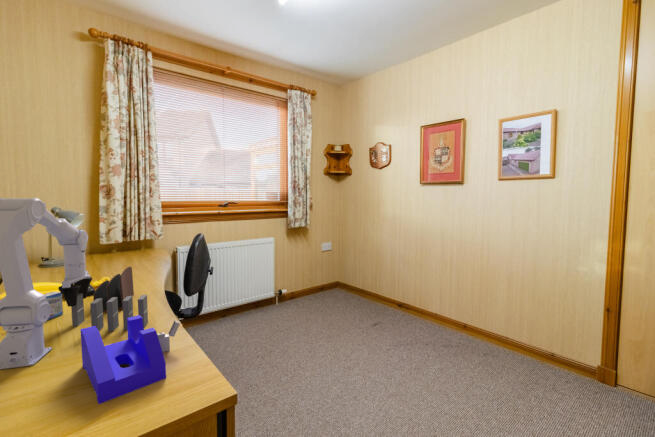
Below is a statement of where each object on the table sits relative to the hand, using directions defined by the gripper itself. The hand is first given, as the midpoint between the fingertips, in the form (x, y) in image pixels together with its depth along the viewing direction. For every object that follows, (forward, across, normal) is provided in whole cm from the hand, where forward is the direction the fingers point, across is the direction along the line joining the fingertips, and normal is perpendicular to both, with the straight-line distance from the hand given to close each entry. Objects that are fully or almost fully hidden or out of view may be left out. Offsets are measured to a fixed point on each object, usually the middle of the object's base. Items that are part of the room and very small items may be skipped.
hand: (77, 302), depth 109 cm
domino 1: (+8, 0, 0) cm, 8 cm away
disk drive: (+8, +39, +15) cm, 43 cm away
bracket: (+8, -39, -24) cm, 46 cm away
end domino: (+8, -8, -22) cm, 25 cm away
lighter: (+8, -29, -33) cm, 45 cm away
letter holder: (+8, +20, -5) cm, 22 cm away
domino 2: (+8, -8, -8) cm, 14 cm away
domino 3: (+8, -8, -13) cm, 17 cm away
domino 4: (+8, -8, -18) cm, 21 cm away
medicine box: (+8, +9, +13) cm, 18 cm away
